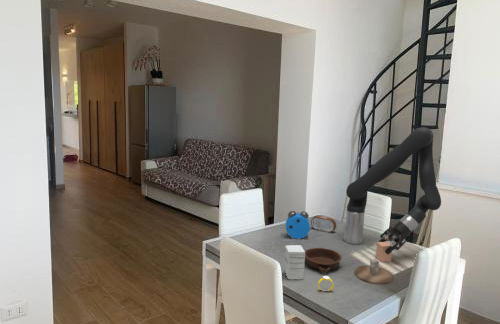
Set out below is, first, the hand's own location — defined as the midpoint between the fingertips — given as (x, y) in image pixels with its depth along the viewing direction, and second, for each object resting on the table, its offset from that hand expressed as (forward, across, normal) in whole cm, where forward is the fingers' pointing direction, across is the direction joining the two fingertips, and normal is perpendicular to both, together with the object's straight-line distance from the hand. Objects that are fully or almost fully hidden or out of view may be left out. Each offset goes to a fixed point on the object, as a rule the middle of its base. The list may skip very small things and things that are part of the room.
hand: (381, 249), depth 182 cm
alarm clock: (+26, -33, -19) cm, 47 cm away
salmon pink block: (+3, 0, +5) cm, 5 cm away
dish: (+25, +2, -18) cm, 31 cm away
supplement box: (+37, +12, -29) cm, 48 cm away
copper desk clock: (+14, -43, -6) cm, 45 cm away
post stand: (+12, +15, -4) cm, 20 cm away
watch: (+30, +26, -23) cm, 46 cm away
